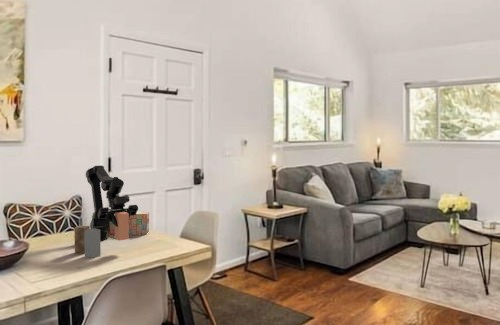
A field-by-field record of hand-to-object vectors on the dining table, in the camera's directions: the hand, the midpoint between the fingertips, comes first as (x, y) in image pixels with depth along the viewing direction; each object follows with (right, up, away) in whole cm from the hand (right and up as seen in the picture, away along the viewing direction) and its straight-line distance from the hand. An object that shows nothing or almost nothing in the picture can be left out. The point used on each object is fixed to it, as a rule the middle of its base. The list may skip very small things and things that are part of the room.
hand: (122, 225), depth 208 cm
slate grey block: (-13, -14, -4) cm, 19 cm away
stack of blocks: (-9, -11, +45) cm, 47 cm away
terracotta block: (-1, -7, +1) cm, 7 cm away
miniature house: (-26, -11, +51) cm, 59 cm away
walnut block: (-20, -13, +2) cm, 24 cm away
